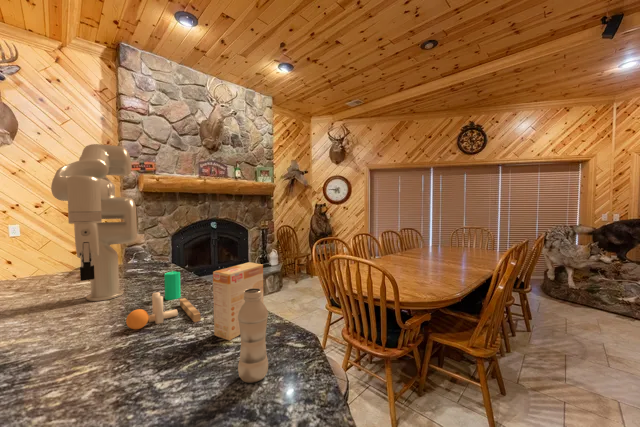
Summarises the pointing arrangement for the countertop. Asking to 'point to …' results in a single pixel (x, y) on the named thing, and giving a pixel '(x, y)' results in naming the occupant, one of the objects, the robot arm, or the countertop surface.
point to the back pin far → (154, 300)
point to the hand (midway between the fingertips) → (87, 279)
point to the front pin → (164, 315)
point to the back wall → (190, 310)
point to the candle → (172, 285)
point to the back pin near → (159, 310)
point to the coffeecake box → (233, 296)
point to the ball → (137, 319)
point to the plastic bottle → (253, 337)
